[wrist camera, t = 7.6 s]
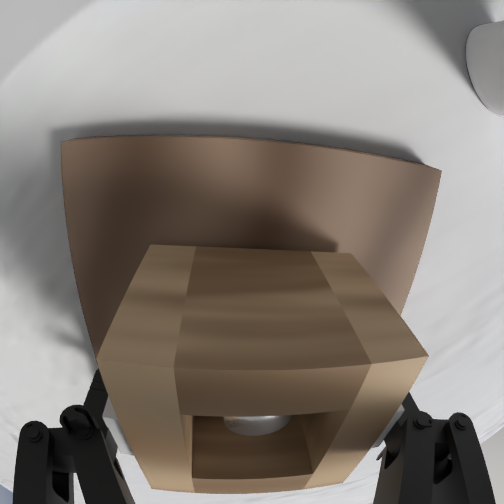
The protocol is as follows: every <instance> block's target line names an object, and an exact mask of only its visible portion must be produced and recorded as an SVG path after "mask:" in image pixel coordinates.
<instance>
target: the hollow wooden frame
mask: <svg viewBox="0 0 504 504" xmlns="http://www.w3.org/2000/svg"><path fill="white" fill-rule="evenodd" d="M428 357H429V355H428V354H427V353H426V351H425V350H424V348H423V347H422V345H421V344H420V343H419V341H418V340H417V338H416V337H415V336H414V334H413V333H412V331H411V330H410V329H409V327H408V326H407V324H406V323H405V322H404V320H403V319H402V318H401V316H400V315H399V314H398V312H397V311H396V310H395V308H394V307H393V306H392V304H391V303H390V302H389V300H388V299H387V298H386V296H385V295H384V294H383V292H382V291H381V290H380V289H379V287H378V286H377V285H376V283H375V282H374V281H373V280H372V278H371V277H370V276H369V275H368V273H367V272H366V271H365V269H364V268H363V267H362V266H361V265H360V263H359V262H358V261H357V260H356V258H355V257H354V256H353V255H352V253H335V252H313V251H291V250H268V249H245V248H222V247H199V246H175V245H150V246H149V248H148V250H147V252H146V254H145V256H144V258H143V260H142V262H141V263H140V265H139V267H138V269H137V271H136V273H135V275H134V277H133V279H132V281H131V283H130V285H129V287H128V289H127V291H126V293H125V296H124V298H123V300H122V302H121V304H120V306H119V308H118V310H117V312H116V315H115V317H114V319H113V321H112V323H111V325H110V328H109V330H108V332H107V334H106V337H105V339H104V341H103V344H102V346H101V348H100V351H99V353H98V355H97V358H96V361H97V364H98V367H99V370H100V373H101V376H102V379H103V382H104V385H105V388H106V390H107V393H108V396H109V398H110V401H111V403H112V406H113V408H114V411H115V413H116V416H117V418H118V421H119V423H120V425H121V428H122V430H123V432H124V434H125V437H126V439H127V441H128V443H129V445H130V448H131V450H132V452H133V454H134V456H135V458H136V460H137V462H138V464H139V466H140V468H141V470H142V472H143V474H144V475H145V477H146V479H147V481H148V483H149V485H150V486H151V488H152V489H158V490H167V491H177V492H190V493H210V494H248V493H268V492H281V491H292V490H301V489H308V488H316V487H322V486H328V485H334V484H339V483H343V482H344V481H345V479H346V478H347V477H348V476H349V475H350V474H351V472H352V471H353V470H354V469H355V468H356V466H357V465H358V464H359V463H360V461H361V460H362V459H363V458H364V456H365V455H366V454H367V452H368V451H369V450H370V448H371V447H372V446H373V444H374V443H375V442H376V440H377V439H378V438H379V436H380V435H381V433H382V432H383V431H384V429H385V428H386V426H387V425H388V423H389V422H390V420H391V419H392V417H393V416H394V414H395V413H396V411H397V410H398V408H399V407H400V405H401V404H402V402H403V400H404V399H405V397H406V395H407V394H408V392H409V391H410V389H411V387H412V385H413V384H414V382H415V380H416V379H417V377H418V375H419V373H420V371H421V370H422V368H423V366H424V364H425V362H426V360H427V359H428ZM283 415H291V418H290V420H289V422H288V423H287V424H286V425H285V426H284V427H283V428H281V429H280V430H278V431H275V432H273V433H270V434H266V435H260V436H247V435H241V434H237V433H235V432H233V431H231V430H229V429H228V428H227V427H226V426H225V424H224V417H256V416H283Z"/></svg>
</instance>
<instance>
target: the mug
mask: <svg viewBox="0 0 504 504" xmlns="http://www.w3.org/2000/svg"><path fill="white" fill-rule="evenodd" d="M466 62H467V68H468V72H469V75H470V79H471V81H472V84H473V86H474V89H475V91H476V93H477V95H478V96H479V98H480V99H481V101H482V102H483V104H484V105H485V106H486V107H487V108H488V109H489V110H490V111H491V112H493V113H494V114H496V115H498V116H500V117H504V21H499V22H494V23H489V24H483V25H479V26H477V27H475V28H474V29H473V30H472V31H471V32H470V34H469V36H468V39H467V44H466Z"/></svg>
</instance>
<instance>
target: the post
mask: <svg viewBox="0 0 504 504" xmlns="http://www.w3.org/2000/svg"><path fill="white" fill-rule="evenodd" d="M290 418H291V415H283V416H256V417H224V424H225V426H226V427H227V428H228V429H229V430H231V431H233V432H235V433H237V434H241V435H247V436H260V435H266V434H270V433H273V432H275V431H278V430H280V429H281V428H283V427H284V426H285V425H286V424H287V423H288V422H289V420H290Z"/></svg>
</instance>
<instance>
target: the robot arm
mask: <svg viewBox="0 0 504 504" xmlns="http://www.w3.org/2000/svg"><path fill="white" fill-rule="evenodd" d="M60 424H61V425H62V427H63V428H47V427H46V425H44V424H43V423H42V422H39V421H30V422H28V423H26V424H25V425H24V426H23V427H22V429H21V432H20V436H19V442H18V449H17V457H16V465H15V475H14V488H13V504H74V485H73V473H77V476H78V480H79V483H80V487H81V490H82V493H83V496H84V500H85V503H86V504H135V502H134V500H133V497H132V495H131V493H130V490H129V488H128V485H127V483H126V481H125V478H124V475H123V473H122V470H121V468H120V465H119V462H118V460H117V458H116V453H117V448H118V449H119V451H120V453H121V454H127V455H134V454H133V452H132V450H131V448H130V445H129V443H128V441H127V439H126V437H125V434H124V432H123V430H122V428H121V425H120V423H119V421H118V418H117V416H116V413H115V411H114V408H113V406H112V403H111V401H110V398H109V396H108V393H107V390H106V388H105V385H104V382H103V379H102V376H101V373H100V370H99V369H98V370H97V371H96V373H95V375H94V378H93V382H92V383H91V386H90V390H89V391H88V394H87V397H86V399H85V402H84V405H83V406H82V405H72V406H69V407H67V408H66V409H65V410H64V411H63V412H62V414H61V415H60ZM383 440H384V441H385V444H386V447H385V448H384V449H383V451H382V452H381V453H380V454H379V455H378V457H377V460H379V459H380V458H381V457H382V461H381V467H380V473H379V478H378V483H377V488H376V493H375V498H374V502H373V504H496V503H495V499H494V494H493V490H492V486H491V482H490V478H489V474H488V470H487V467H486V464H485V460H484V457H483V453H482V450H481V447H480V444H479V441H478V438H477V435H476V432H475V429H474V426H473V423H472V421H471V419H470V418H469V417H468V416H467V415H466V414H463V413H458V412H457V413H454V414H453V415H452V416H451V417H450V418H449V419H448V420H439V419H432V417H431V416H430V415H429V414H427V413H426V412H423V411H419V409H418V407H417V405H416V404H415V402H414V400H413V398H412V396H411V394H410V392H408V394H407V395H406V397H405V399H404V400H403V402H402V404H401V405H400V407H399V408H398V410H397V411H396V413H395V414H394V416H393V417H392V419H391V420H390V422H389V423H388V425H387V426H386V428H385V429H384V431H383V432H382V433H381V435H380V436H379V438H378V439H377V440H376V442H375V443H374V444H373V446H372V447H371V448H374V447H379V445H380V444H381V443H382V441H383Z"/></svg>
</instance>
